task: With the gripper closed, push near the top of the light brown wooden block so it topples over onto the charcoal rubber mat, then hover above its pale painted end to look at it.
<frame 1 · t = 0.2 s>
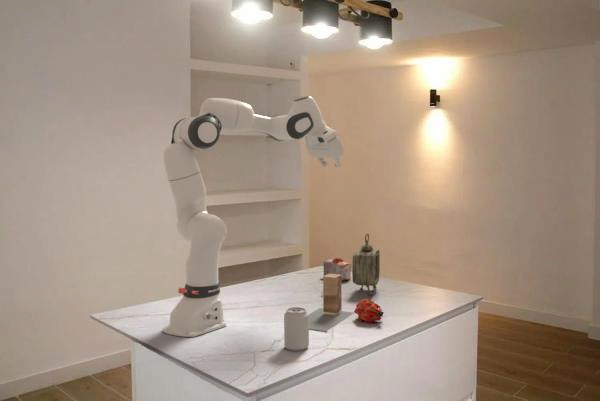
hand: (331, 166, 223), 54 cm above the table, tool tilted 30°, fingers open, 8 cm apart
food item: (337, 279, 264), on the table
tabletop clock: (365, 292, 239), on the table
light brown wooden block: (332, 313, 207), resting on rubber mat
can: (296, 348, 172), on the table
dragon fruit: (369, 322, 198), on the table
rubber mat: (323, 319, 200), on the table
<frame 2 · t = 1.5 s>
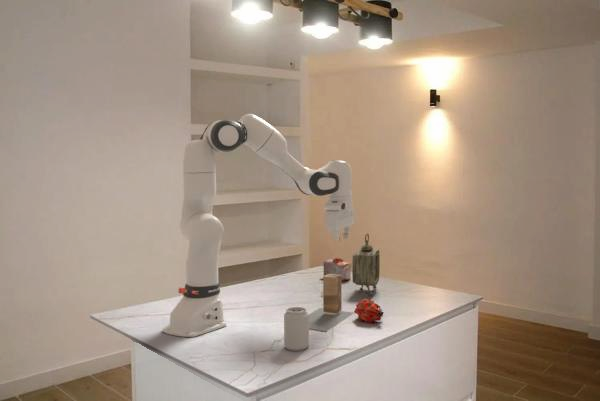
hand: (341, 239, 213), 26 cm above the table, tool pointing down, fingers open, 8 cm apart
nothing on the table moved.
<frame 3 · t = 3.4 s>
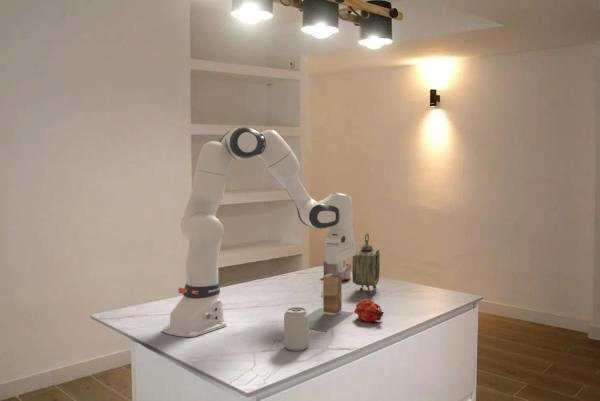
hand: (341, 271, 213), 14 cm above the table, tool pointing down, fingers closed
nothing on the table moved.
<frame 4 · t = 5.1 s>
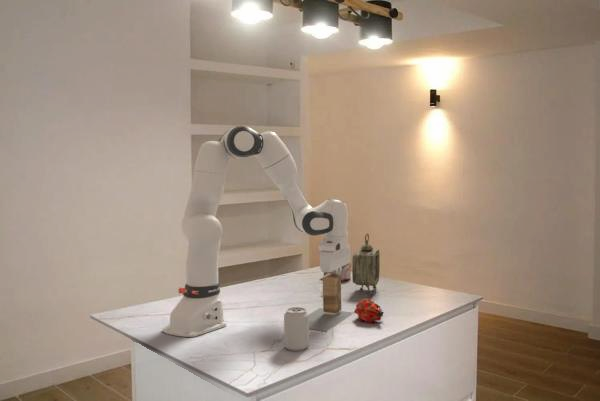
hand: (336, 279, 209), 12 cm above the table, tool pointing down, fingers closed
light brown wooden block: (332, 312, 207), point 1 cm above the table, touching gripper, rubber mat
everything else where it was.
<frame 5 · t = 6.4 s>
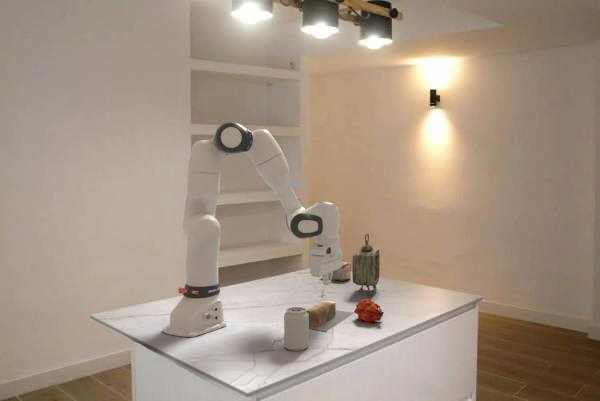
hand: (327, 284, 203), 12 cm above the table, tool pointing down, fingers closed
light brown wooden block: (329, 308, 205), point 3 cm above the table, tilted 90°, touching rubber mat
everything else where it was.
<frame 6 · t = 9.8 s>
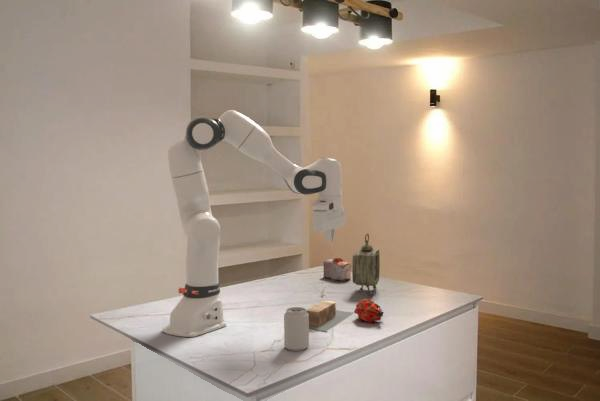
hand: (330, 241, 203), 27 cm above the table, tool pointing down, fingers closed
nothing on the table moved.
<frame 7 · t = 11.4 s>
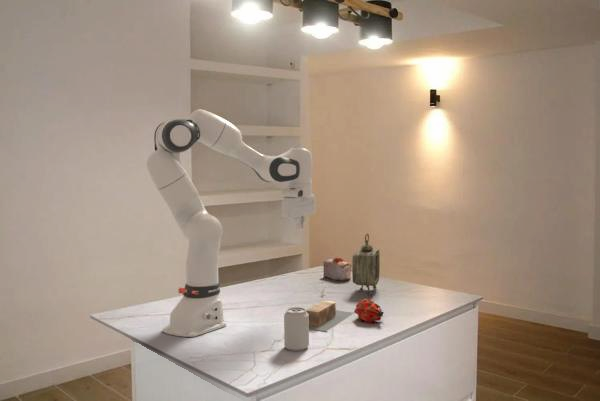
hand: (299, 228, 210), 31 cm above the table, tool pointing down, fingers closed
nothing on the table moved.
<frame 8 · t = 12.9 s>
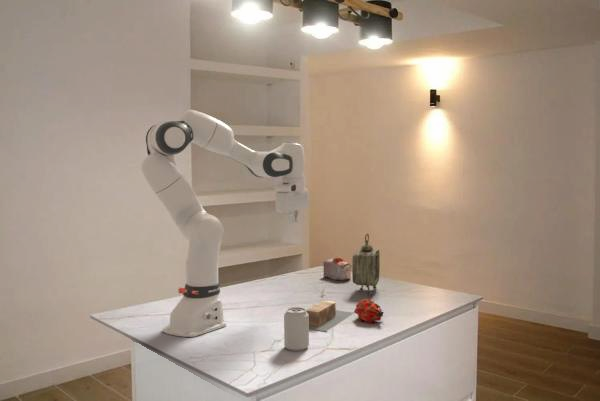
hand: (293, 222, 212), 33 cm above the table, tool pointing down, fingers closed
nothing on the table moved.
at the end: light brown wooden block tilted 90°; light brown wooden block touching rubber mat; light brown wooden block inside the target area (0.4 cm from its centre), point 2.9 cm above the table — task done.
